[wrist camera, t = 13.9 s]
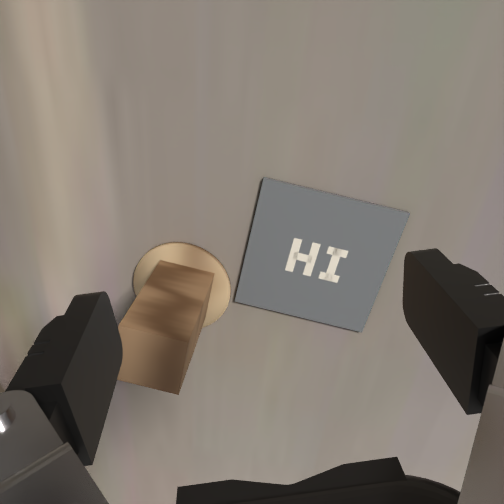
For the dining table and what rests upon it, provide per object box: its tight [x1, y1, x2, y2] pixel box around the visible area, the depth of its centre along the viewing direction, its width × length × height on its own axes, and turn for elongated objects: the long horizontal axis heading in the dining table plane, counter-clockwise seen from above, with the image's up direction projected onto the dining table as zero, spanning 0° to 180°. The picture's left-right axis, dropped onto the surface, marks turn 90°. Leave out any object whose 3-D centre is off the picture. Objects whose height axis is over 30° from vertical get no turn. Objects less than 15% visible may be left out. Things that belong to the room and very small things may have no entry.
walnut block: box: [117, 260, 215, 395], centre depth 37 cm, size 5×5×10 cm
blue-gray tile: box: [235, 177, 410, 332], centre depth 39 cm, size 12×12×1 cm
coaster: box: [133, 242, 231, 327], centre depth 42 cm, size 9×9×1 cm
